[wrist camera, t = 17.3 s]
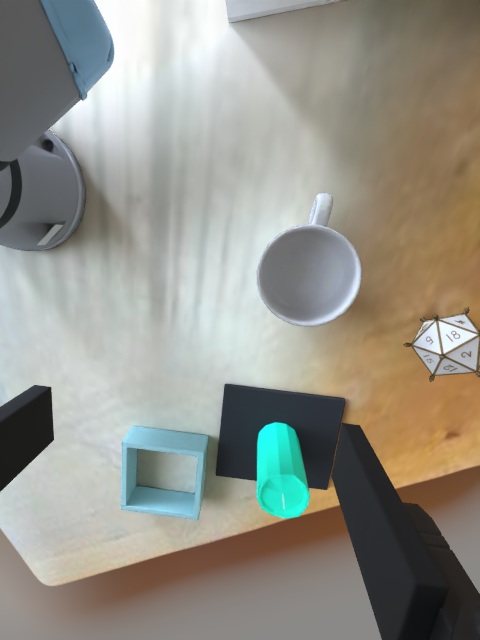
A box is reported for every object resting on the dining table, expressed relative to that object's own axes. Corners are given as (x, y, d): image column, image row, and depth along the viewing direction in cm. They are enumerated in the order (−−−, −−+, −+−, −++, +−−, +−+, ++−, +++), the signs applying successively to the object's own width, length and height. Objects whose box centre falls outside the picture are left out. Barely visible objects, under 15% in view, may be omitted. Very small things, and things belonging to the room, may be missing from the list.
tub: (131, 489, 50) (120, 509, 46) (132, 425, 47) (121, 441, 43) (202, 498, 50) (198, 520, 46) (208, 435, 47) (204, 452, 43)
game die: (419, 314, 44) (484, 282, 35) (458, 365, 43) (537, 346, 34) (376, 343, 41) (436, 316, 32) (417, 400, 40) (492, 389, 30)
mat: (216, 471, 48) (215, 475, 48) (225, 383, 45) (224, 386, 44) (326, 486, 48) (327, 490, 47) (344, 398, 44) (345, 400, 43)
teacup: (320, 323, 42) (335, 341, 34) (245, 294, 41) (242, 306, 34) (368, 221, 38) (396, 216, 31) (286, 188, 38) (293, 174, 30)
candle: (306, 444, 45) (323, 514, 34) (273, 465, 46) (278, 539, 35) (282, 414, 44) (290, 475, 33) (248, 436, 46) (245, 502, 34)
